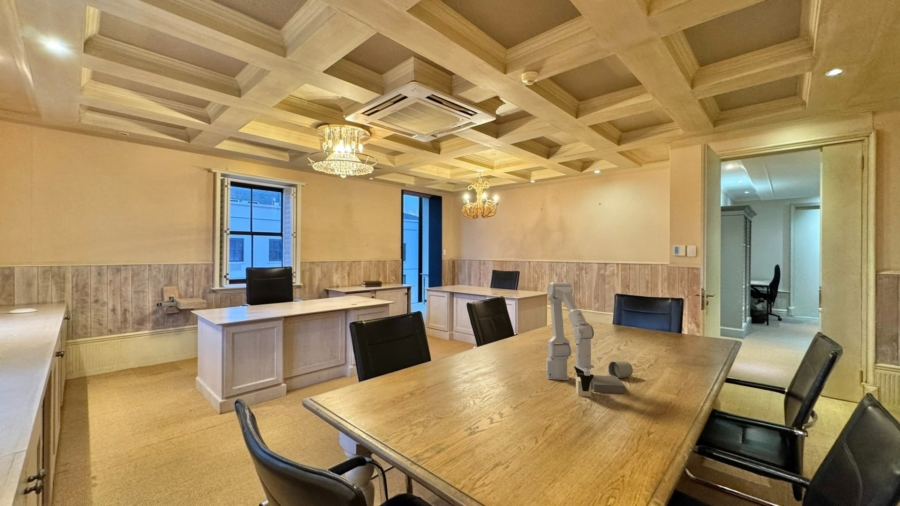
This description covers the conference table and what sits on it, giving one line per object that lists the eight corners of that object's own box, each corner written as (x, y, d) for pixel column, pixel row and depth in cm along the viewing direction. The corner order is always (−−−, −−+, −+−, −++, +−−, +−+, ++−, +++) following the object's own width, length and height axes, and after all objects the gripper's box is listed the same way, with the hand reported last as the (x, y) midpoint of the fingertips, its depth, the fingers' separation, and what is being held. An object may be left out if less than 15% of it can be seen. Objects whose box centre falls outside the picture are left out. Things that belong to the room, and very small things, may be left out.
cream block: (578, 395, 148) (578, 380, 148) (575, 391, 153) (575, 376, 153) (591, 396, 147) (591, 381, 147) (588, 391, 152) (588, 377, 152)
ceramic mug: (634, 378, 168) (634, 362, 168) (619, 380, 165) (619, 363, 166) (617, 372, 178) (617, 356, 178) (603, 373, 176) (603, 357, 176)
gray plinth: (594, 391, 152) (594, 384, 152) (587, 381, 164) (587, 374, 164) (624, 393, 151) (624, 385, 151) (616, 383, 162) (616, 376, 162)
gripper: (598, 359, 142) (598, 394, 142) (589, 350, 157) (589, 382, 157) (579, 359, 143) (579, 393, 143) (572, 349, 158) (572, 381, 158)
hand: (583, 387), depth 150 cm, fingers open, 7 cm apart
